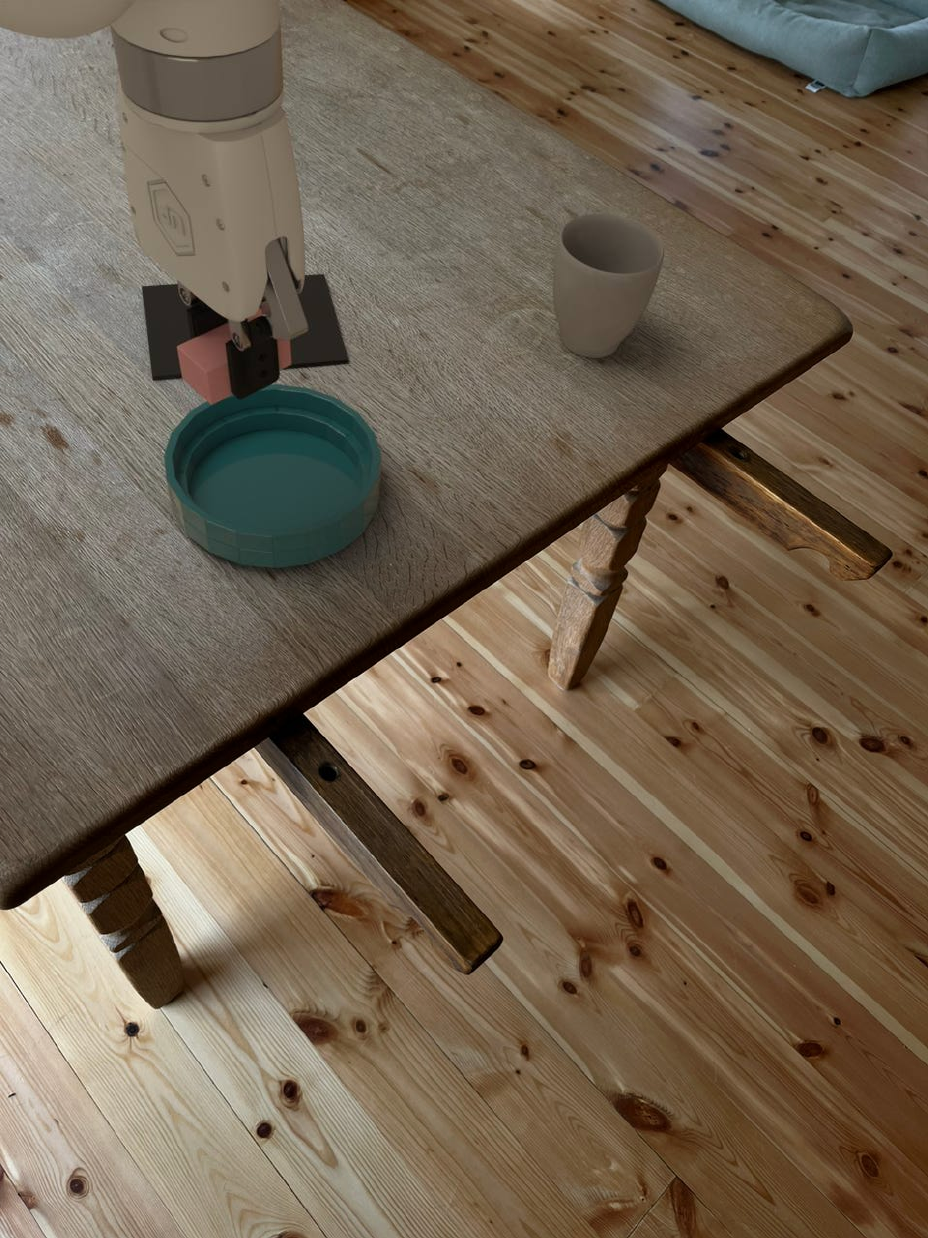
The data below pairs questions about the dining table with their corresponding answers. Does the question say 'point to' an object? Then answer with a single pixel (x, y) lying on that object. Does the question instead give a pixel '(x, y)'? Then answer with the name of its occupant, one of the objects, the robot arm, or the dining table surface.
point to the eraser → (216, 362)
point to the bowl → (274, 476)
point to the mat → (306, 350)
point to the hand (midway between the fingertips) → (237, 369)
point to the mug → (603, 280)
